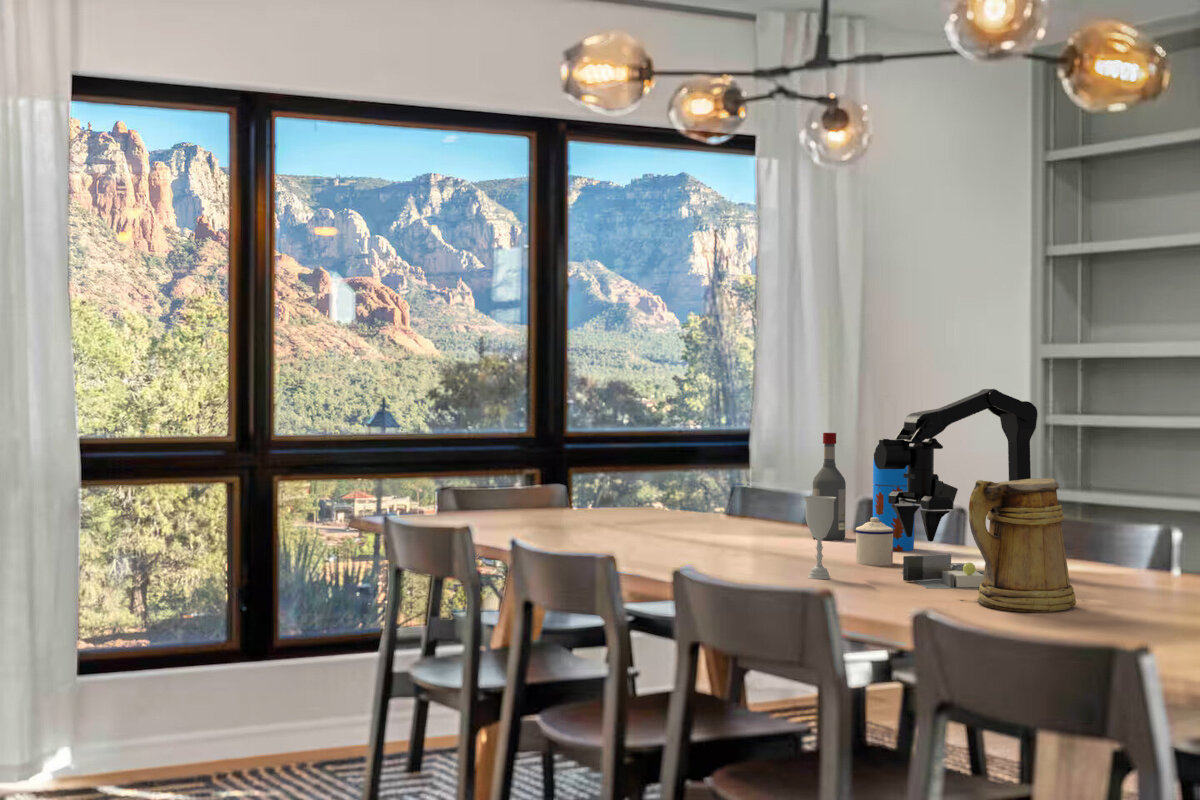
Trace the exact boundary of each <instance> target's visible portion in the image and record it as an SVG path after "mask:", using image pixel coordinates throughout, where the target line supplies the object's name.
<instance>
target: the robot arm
mask: <svg viewBox="0 0 1200 800" xmlns="http://www.w3.org/2000/svg"><path fill="white" fill-rule="evenodd" d="M985 410H988V411H989V412H990V413H992V414H993V415H995V416H996V417H998V418H999V421H1000V426H1001V429H1002V431H1003V434H1004V435H1005V437H1006V439H1007V453H1008V455H1007V457H1008V459H1007V461H1008V462H1007V463H1008V465H1007V466H1008V481H1015V480H1023V479H1032V471H1031V467H1032V465H1031V439H1032V436H1033V435H1034V433H1035V430H1036V428H1037V421H1038V408H1037V407H1036V405H1034V404H1033V403H1032V402H1031V401H1027V400H1024V401H1023V400H1021V399H1017V398H1015V397H1013V396H1010V395H1008V394H1006V393H1003V392H1001V391H1000V390H997V388H982V389H981V390H979V391H978V392H976V393H973V394H971V395H968V396H965V397H964V398H961V399H959V400H956V401H953V402H952V403H951V402H950V403H948V404H947V405H944V406H941V407H939V408H934V409H928V410H921V411H917V412H916V411H915V412H911V413H910V414H908V415H906V417H905V419H904V422H903V426H902V427H901V429H900V430H899V432H898V433H897V434H896V436H895V438H894V439H889V438H879V439H878V444H877V445H876V448H875V449H874V453H873V459H874V462H875V465H876V467H877V468H878V469H904V468H906V466H907V465H908V469H907V473H904V478H907V491H892V492H891V493H890V494H889V495H888V503H890V504H894V505H891V507H892V508H893V509H894V511H895V513H896V515H897V517H898V519H899V521H900V523H901V525H902V527H903V529H904V532H905V534H906V536H907V537H912V532H913V524H914V514H915V513H916V512H917V511H918V510H919V509H920V507H921V509H920V516H921V520H922V524H923V528H924V531H925V536H926V539H927V541H928V542H934V539H935V538H936V537H935V536H936V534H937V530H938V527H939V524H940V523H941V520H942V518H944V517H945V515H946V514H949V513H950V511H951V510H954V502H955V499H956V496H957V493H958V491H959V490H958V488H957V487H955V486H952V485H950V484H948V483H945V482H944V481H943V480H940V478H939V475H938V473H934V471H935V469H934V465H935V463H934V462H935V458H934V457H935V450H942V449H944V445H942V444H941V443H940V442H939V441H938V440H937V438H935V437H936V436H938V435H939V434H942V433H943V432H944V431H945V429H946V428H947V427H948V426H950V425H951V424H953V423H956V422H959V421H961V420H963V419H965V418H966V419H967V418H968V417H971V416H973V415H975V414H976V415H977V414H978V413H980V412H982V411H985ZM925 440H927V441H925ZM911 444H913V445H911ZM913 503H914V504H915V505H913Z"/></svg>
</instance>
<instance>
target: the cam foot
mask: <svg viewBox="0 0 1200 800" xmlns="http://www.w3.org/2000/svg"><path fill="white" fill-rule="evenodd" d="M976 569H977V567H976V566H975V564H974V563H972V562H966V564H964V566H963V571H947V572H949V573H953V575H954V586H955V587H979V586H980V584H981V583H982V582H983V578H984V575H982V574H980V573H978V572H976V571H975V570H976Z"/></svg>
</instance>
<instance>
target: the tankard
mask: <svg viewBox="0 0 1200 800" xmlns="http://www.w3.org/2000/svg"><path fill="white" fill-rule="evenodd" d="M974 484H975V485H974V487H973V489H972V491H971V493H970V497H969V502H968V503H969V504H968V522H969V528H970V531H971V534H972V537H973V540H974V543H975V544H976V546H977V548H978V550H979V552H980V554H981V556H982V559H983V560H984V569H983V570H984V578H983V582H982V583H981V584H980V586H979V589H978V597H977V602H978V603H979V604H981V605H982V606H983V607H986V608H990V609H995V610H999V611H1006V612H1007V611H1008V612H1014V613H1015V612H1020V613H1021V612H1024V613H1047V612H1048V613H1049V612H1059V611H1065V610H1068V609H1070V608H1073V607H1074V606H1076V605H1077V601H1076V594H1075V591H1074V590H1075V589H1074V586H1073V585H1072V584H1071V582H1070V576H1069V575H1070V574H1069V569H1068V568H1069V567H1068V562H1067V561H1068V560H1067V556H1066V549H1065V543H1064V541H1065V540H1064V536H1063V535H1064V534H1063V527H1062V522H1063V521H1064V519H1065V516H1064V513H1063V509H1062V508H1063V506H1062V504H1061V503H1060V504H1059V499H1058V491H1057V490H1058V489H1060V486H1059V483H1058V481H1057V480H1056V479H1055V478H1031V479H1023V480H1015V481H1009V480H1008V481H1007V480H1006V481H1000V482H994V481H990V480H983V479H977V480H976V481H975V483H974ZM987 520H989V526H988V527H989V528H988V529H987V524H986V523H987Z"/></svg>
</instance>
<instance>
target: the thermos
mask: <svg viewBox="0 0 1200 800" xmlns="http://www.w3.org/2000/svg"><path fill="white" fill-rule="evenodd" d="M872 460H873V461H872V462H873V463H872V465H873V466H872V472H873V473H872V484H873V485H872V518H879V522H881V523H883V524H885V525H886V526H888V527H891V528H893V531H894V533H893V552H911V551H914V548H915V534H916V533H915V532H916V531H915V528H916V527H915V526H916V525H915V523H916V522H915V521H916V519H915V518H916V517H915V516H916V515H915V514H914V524H913V532H912V537H907V536H906V534H905V532H904V529H903V527H902V525H901V523H900V521H899V519H898V517H897V515H896V513H895V511H894V509H893V508H892V507H891V505H894V504H890V503H888V495H889V494H890V493H891V492H892V491H907V478H904V473H907V469H908V465H907V466H906V468H904V469H878V468H877V467H876V465H875V462H874V458H873V459H872ZM913 505H916V504H914V503H913Z"/></svg>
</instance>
